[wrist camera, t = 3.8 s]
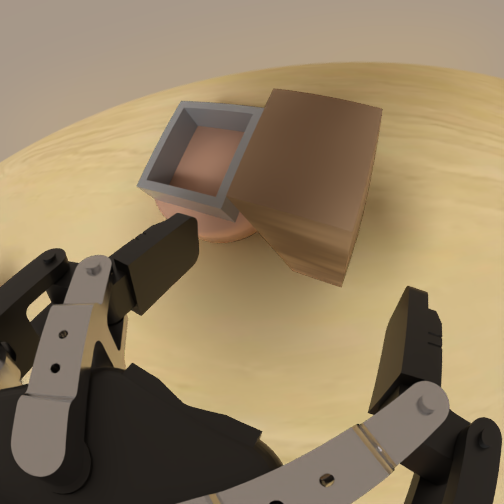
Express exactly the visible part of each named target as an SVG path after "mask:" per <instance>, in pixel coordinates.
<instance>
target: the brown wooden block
mask: <svg viewBox="0 0 504 504" xmlns="http://www.w3.org/2000/svg"><path fill="white" fill-rule="evenodd" d="M381 116H382V109H380V108H377V107H373V106H369V105H365V104H360V103H356V102H352V101H347V100H342V99H337V98H332V97H327V96H321V95H316V94H310V93H303V92H297V91H290V90H282V89H273V91H272V93H271V95H270V97H269V99H268V101H267V103H266V106H265V108H264V110H263V112H262V114H261V117H260V119H259V121H258V123H257V125H256V128H255V130H254V132H253V134H252V136H251V139H250V141H249V143H248V145H247V148H246V150H245V152H244V155H243V157H242V159H241V161H240V164H239V166H238V168H237V171H236V173H235V175H234V178H233V180H232V182H231V185H230V187H229V190H228V192H227V194H226V197H227V198H228V199H229V200H230V201H231V202H232V203H233V205H234V206H235V207H236V208H237V209H238V210H239V211H240V212H241V213H242V215H243V216H244V217H245V218H246V219H247V220H248V221H249V222H250V223H251V225H252V226H253V227H254V228H255V229H256V230H257V231H258V232H259V233H260V235H261V236H262V237H263V238H264V239H265V240H266V241H267V242H268V244H269V245H270V246H271V247H272V248H273V249H274V250H275V251H276V253H277V254H278V255H279V256H280V257H281V258H282V259H283V260H284V262H285V263H286V264H287V265H288V266H289V267H290V268H291V270H292V271H295V272H297V273H300V274H303V275H306V276H309V277H312V278H315V279H318V280H321V281H324V282H327V283H330V284H333V285H336V286H339V287H342V284H343V281H344V278H345V275H346V272H347V269H348V266H349V262H350V259H351V256H352V253H353V250H354V246H355V243H356V240H357V236H358V233H359V229H360V225H361V221H362V216H363V212H364V208H365V203H366V199H367V194H368V190H369V185H370V180H371V175H372V170H373V165H374V159H375V154H376V148H377V142H378V136H379V130H380V123H381Z"/></svg>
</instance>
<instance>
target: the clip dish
mask: <svg viewBox="0 0 504 504" xmlns="http://www.w3.org/2000/svg"><path fill="white" fill-rule="evenodd" d="M263 110H264V108H260V107H252V106H243V105H234V104H223V103H210V102H193V101H181V102H180V104H179V105H178V107H177V109H176V111H175V112H174V114H173V116H172V118H171V119H170V121H169V123H168V125H167V127H166V128H165V130H164V132H163V134H162V136H161V138H160V140H159V142H158V143H157V145H156V147H155V149H154V151H153V153H152V155H151V157H150V159H149V161H148V163H147V165H146V167H145V169H144V171H143V174H142V176H141V178H140V180H139V182H138V184H137V187H138V188H140V189H141V190H142V191H144V192H145V193H147V194H148V195H150V196H151V197H153V198H154V199H155V201H156V204H157V206H158V208H159V210H160V211H161V213H162V214H163V215H164V216H165V217H166V218H167V219H169V218H170V217H171V216H173V215H174V214H176V213H181V214H185V215H188V216H191V217H195V218H196V219H197V222H198V238H199V239H201V240H204V241H208V242H214V243H227V242H234V241H237V240H241V239H244V238H246V237H248V236H251V235H252V234H254V233H256V232H257V230H256V229H255V228H254V227H253V226H252V225H251V223H250V222H249V221H248V220H247V219H246V218H245V217H244V216H243V215H242V213H241V212H240V211H239V210H238V209H237V208H236V207H235V206H234V205H233V203H232V202H231V201H230V200H229V199H228V198H227V197H226V194H227V192H228V190H229V187H230V185H231V182H232V180H233V178H234V175H235V173H236V171H237V168H238V166H239V164H240V161H241V159H242V157H243V155H244V152H245V150H246V148H247V145H248V143H249V141H250V139H251V136H252V134H253V132H254V130H255V128H256V125H257V123H258V121H259V119H260V117H261V114H262V112H263Z"/></svg>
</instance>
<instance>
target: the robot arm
mask: <svg viewBox="0 0 504 504" xmlns="http://www.w3.org/2000/svg"><path fill="white" fill-rule="evenodd" d="M198 255H199V241H198V222H197V219H196V218H195V217H191V216H188V215H185V214H181V213H176V214H174V215H173V216H171V217H170V218H169V219H167V220H166V221H163V222H161V223H158V224H155V225H153V226H151V227H150V228H148V229H147V230H145V231H144V232H143V234H140V235H138V236H137V237H135V239H133V240H131V241H130V242H128V243H127V244H126V245H124V246H123V247H122V248H120V249H119V250H118V251H116V252H115V253H113V254H112V255H111V256H109V257H107V256H104V255H94V256H90V257H88V258H86V259H84V260H82V261H81V262H80V263H75V262H69V261H68V259H67V256H66V253H65V251H64V250H62V249H59V248H55V249H50V250H47V251H45V252H44V253H42V254H41V255H39V256H38V257H37V258H35V259H34V260H33V261H32V262H30V263H29V264H28V265H27V266H25V267H24V268H23V269H22V270H20V271H19V272H18V273H17V274H15V275H14V276H13V277H12V278H11V279H9V280H8V281H7V282H6V283H5V284H4V285H2V286H1V287H0V504H351V503H353V502H354V501H356V500H357V499H358V498H360V497H361V496H363V495H364V494H366V493H367V492H368V491H370V490H371V489H372V488H374V487H375V486H376V485H378V484H379V483H380V482H382V481H383V480H384V479H385V478H387V477H388V476H389V475H390V474H391V473H392V472H393V471H394V470H395V469H394V468H395V467H396V466H397V465H398V464H399V463H400V464H401V465H403V466H405V467H406V468H408V469H409V470H411V471H413V472H414V475H413V478H412V481H411V485H410V488H409V491H408V493H407V496H406V499H405V502H404V504H493V500H494V495H495V490H496V484H497V478H498V472H499V464H500V456H501V446H502V436H501V432H500V429H499V427H498V426H497V424H496V423H495V422H494V421H493V420H491V419H489V418H485V417H483V418H478V419H476V420H475V421H474V422H472V423H469V422H468V421H466V420H465V419H463V418H461V417H460V416H458V415H457V414H455V413H454V412H453V411H451V410H450V409H449V400H448V397H447V395H446V393H445V392H444V390H443V389H442V388H441V376H442V349H441V347H442V338H441V337H442V323H441V321H440V319H439V316H438V314H437V312H436V311H434V310H431V309H428V293H427V292H425V291H422V290H419V289H416V288H413V287H410V286H407V287H406V289H405V290H404V292H403V294H402V297H401V299H400V301H399V303H398V305H397V307H396V309H395V311H394V313H393V315H392V317H391V319H390V321H389V323H388V326H387V329H386V333H385V339H384V344H383V349H382V355H381V360H380V364H379V369H378V374H377V378H376V382H375V387H374V391H373V395H372V399H371V403H370V407H369V410H368V413H370V414H373V416H372V417H371V418H369V419H368V420H366V421H365V422H363V423H362V424H360V425H359V424H356V425H354V426H352V427H351V428H349V429H347V430H346V431H344V432H343V433H341V434H339V435H338V436H336V437H335V438H333V439H331V440H330V441H328V442H326V443H324V444H323V445H321V446H319V447H317V448H316V449H314V450H312V451H310V452H308V453H307V454H305V455H303V456H301V457H299V458H297V459H295V460H293V461H291V462H289V463H287V464H285V465H283V464H282V462H281V461H280V459H279V458H278V456H277V455H276V454H275V453H274V451H273V450H272V449H270V448H269V447H268V446H267V445H266V444H265V443H264V442H262V441H261V440H260V437H261V434H262V431H260V430H258V429H256V428H253V427H251V426H249V425H246V424H244V423H242V422H240V421H238V420H235V419H233V418H231V417H229V416H227V415H223V414H219V413H215V412H210V411H206V410H202V409H198V408H195V407H191V406H188V405H186V404H184V403H183V402H182V401H181V400H179V399H178V398H177V397H176V396H175V395H174V394H173V393H172V392H171V391H170V390H169V389H168V388H167V387H166V386H165V385H164V384H163V383H162V382H161V381H160V380H159V379H158V378H156V377H155V376H153V375H151V374H150V373H148V372H146V371H145V370H143V369H142V368H140V367H138V366H137V365H135V364H134V363H132V364H131V365H130V366H129V367H128V368H127V369H126V365H125V345H126V334H127V325H128V316H127V313H128V312H129V311H130V310H132V311H134V312H135V313H137V314H139V315H141V316H142V315H143V314H144V313H145V312H146V311H147V310H148V309H149V308H150V307H151V306H152V305H153V304H154V303H155V302H156V301H157V300H158V299H159V298H160V297H161V296H162V295H163V294H164V293H165V292H166V291H167V290H168V289H169V288H170V287H171V286H172V285H173V284H174V283H176V282H177V281H178V280H179V279H180V278H181V277H182V276H183V275H184V274H185V273H186V272H187V271H188V270H189V269H190V268H191V267H192V266H193V265H194V264H195V262H196V261H197V258H198ZM45 291H46V292H47V294H48V296H49V298H50V300H51V303H50V304H49V305H48V306H47V307H46V308H45V309H44V310H43V311H42V312H40V313H39V314H38V315H37V316H36V317H35V318H34V319H33V320H32V321H31V322H29V320H28V318H27V316H26V311H27V308H28V306H29V305H30V304H31V303H32V302H33V301H34V300H36V299H37V298H38V297H39V296H40V295H41V294H42V293H43V292H45ZM32 367H33V368H32ZM31 368H32V372H31V376H30V380H29V384H25V385H22V384H21V383H20V382H19V381H20V380H21V379H22V378H23V377H24V375H25V374H26V373H27V372H28V371H29V370H30V369H31Z"/></svg>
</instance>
